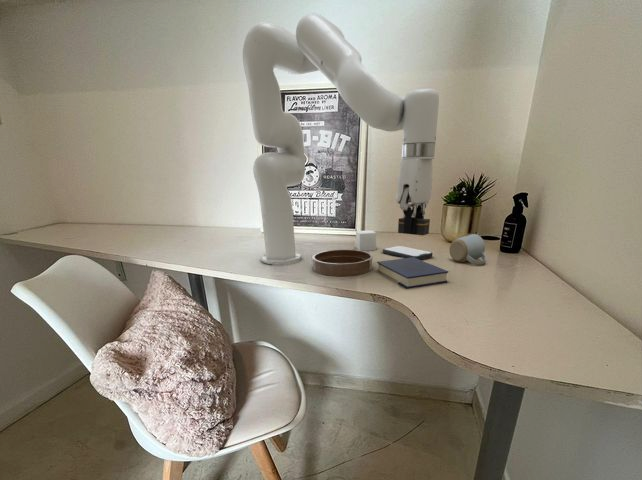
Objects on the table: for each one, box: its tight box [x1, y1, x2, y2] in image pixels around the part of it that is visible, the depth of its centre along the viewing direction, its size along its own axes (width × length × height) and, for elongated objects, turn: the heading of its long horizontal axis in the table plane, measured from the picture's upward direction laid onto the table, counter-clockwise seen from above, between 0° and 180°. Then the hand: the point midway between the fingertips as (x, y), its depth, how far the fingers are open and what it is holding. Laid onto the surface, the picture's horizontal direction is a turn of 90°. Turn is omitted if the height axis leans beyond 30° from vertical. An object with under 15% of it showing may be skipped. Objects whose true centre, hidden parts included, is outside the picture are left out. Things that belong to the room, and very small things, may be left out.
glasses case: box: [397, 217, 431, 236], centre depth 85 cm, size 7×3×4 cm, turn 51°
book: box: [376, 257, 449, 289], centre depth 89 cm, size 16×12×3 cm
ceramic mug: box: [448, 233, 487, 266], centre depth 101 cm, size 11×8×8 cm
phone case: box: [382, 245, 433, 260], centre depth 112 cm, size 9×2×16 cm
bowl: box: [312, 248, 374, 277], centre depth 97 cm, size 17×17×4 cm
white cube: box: [355, 229, 377, 251], centre depth 121 cm, size 6×6×6 cm
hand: (413, 231), depth 85 cm, fingers closed on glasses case, 3 cm apart
